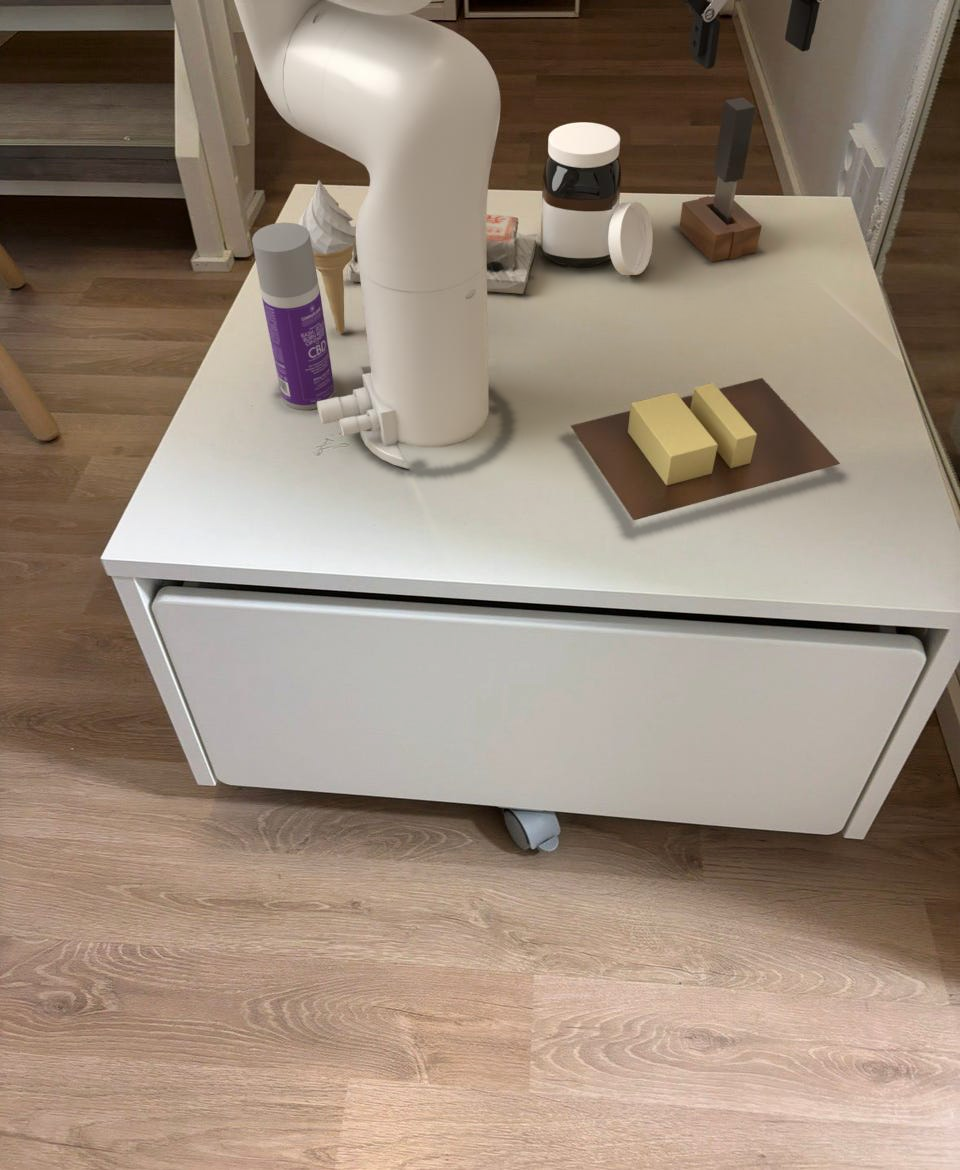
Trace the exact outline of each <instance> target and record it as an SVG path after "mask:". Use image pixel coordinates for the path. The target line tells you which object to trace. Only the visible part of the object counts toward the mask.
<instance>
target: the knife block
mask: <svg viewBox="0 0 960 1170" xmlns="http://www.w3.org/2000/svg"><path fill="white" fill-rule="evenodd" d="M714 198H715V195H713V196H709V195H707V196H702V197H698V198H697V199H692V200H688V201H683V202H682V203H681V210H680V219H679V226H678V230H679V231H680V232H681V233H682V234H683V235H684V236H685V237H686V238H687V240H689V241H690V242H691V243H692V244H693V246H695V247H696V248H697V249H698V250H699V251H700V252H701V253H702V254H703V255H704V256H705V257H706V258H707V259H708V260H709V261H710V262H711V263H715V262H719V261H724V260H728V259H729V260H734V259H738V258H741V256H746V255H747V256H748V255H752V254H756V253H757V251H758V246H759V242H760V236H761V231H762V227H763V225H762V224H761V223H759V222H758V220H756V218H754V217H753V216H752V215H751V214H750V213H749V212H748V211H746V209H745V208H743V207H742V206H741V205H740V204H739V203H738V202H737V201H735V200H734V203H733V208H732V214H731V220H730V225H726V224H725V223H724V222H723V221H722V220H721V219H720V218H719V217H718V216H717V215H716V214H715V213H714V212H713V211H712V210H713V204H714Z"/></svg>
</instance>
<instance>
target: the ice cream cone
mask: <svg viewBox="0 0 960 1170" xmlns="http://www.w3.org/2000/svg"><path fill="white" fill-rule="evenodd" d="M339 206H340V205H339V202H337V200H336V199H335V198H334V197H333V196H332V195H331V194H330V193H329V192H328V190H327V189H326V187H325V186H324V184H323V183H322V181H321V180H320V179H319V180H318V181H317V184H316V187H315V190H314V192H313V194H312V197H311V199H310V200H309V202H308V203H307V206H306V208H305V210H304V211H303V213H302V215H301V217H300V218H299V220H298V222H297V223H296V224H299V225H301V226H303V227H305V228H306V229H307V230H308V231H309V234H310V239H311V245H312V250H313V256H314V261H315V267H316V270H317V271H318V272H319V273H320V275H321V279H322V282H323V285H324V290H325V293H326V297H327V300H328V304H329V307H330V312H331V314H332V317H333V321H334V325H335V329H336V331H337V334H339V335H343V334H344V332H345V329H346V326H345V325H346V324H345V285H344V269H345V267H346V266H347V265H348V264H350V263H351V260H352V258H353V247H354V245H355V244H356V227H355V226H352V224H351V223H350V222H351V221H353V220H354V218H353V217H352V216H351V215H350V214H349V213H348V212H347V211H346V210H345V209H343V208H341V207H339Z"/></svg>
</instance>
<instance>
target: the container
mask: <svg viewBox="0 0 960 1170" xmlns="http://www.w3.org/2000/svg"><path fill="white" fill-rule="evenodd" d="M251 241H252V247H253V253H254V259H255V264H256V271H257V276H258V282H259V283H258V284H259V288H260V294H261V300H262V305H263V310H264V314H265V320H266V324H267V329H268V335H269V340H270V345H271V349H272V354H273V355H272V356H273V359H274V360H273V361H274V366H275V369H276V374H277V380H278V385H279V390H280V394H281V399H282V401H283V402H284V404H285V405H287V406H288V407H290V408H293V409H295V410H301V411H308V410H314V409H318V408H317V401H321V400H326V399H330V398H334V397H335V394H336V393H335V392H336V390H335V382H334V375H333V368H332V363H331V361H332V360H331V357H330V356H331V355H330V349H329V342H328V337H327V329H326V322H325V317H324V309H323V302H322V298H321V289H320V284H319V279H318V274H317V273H318V272H317V269H316V267H315V261H314V256H313V250H312V245H311V239H310V234H309V231H308V230H307V229H306V228H305V227H303V226H301V225H299V224H297V223H294V222H277V223H271V224H267V225H265V226H263V227H261V228H260V229H258V230H257V231H256V232H254V234H253V236H252V237H251Z"/></svg>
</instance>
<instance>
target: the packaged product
mask: <svg viewBox="0 0 960 1170" xmlns="http://www.w3.org/2000/svg"><path fill="white" fill-rule="evenodd" d="M518 225H519V218H518V217H516V216H511V215H500V214H488V213H487V220H486V245H487V292H494V293H495V292H496V293H508V294H521V295H522V294H524V292H525V289H526V287H527V283H528V280H529V275H530V270H531V267H532V264H533V260H534V257H535V254H536V245H537V235H538V234H537V233H528V234H524V233H519V232H518V228H519V226H518ZM354 227H356V225H355V226H354ZM352 255H353V257H352V260H351V261H350V262H349V265H348V268H347V274H346V275H347V277H348V280H349V282H357V283H361V280H360V272H359V265H358V258H357V249H356V244H355V245H354V247H353V252H352Z"/></svg>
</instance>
